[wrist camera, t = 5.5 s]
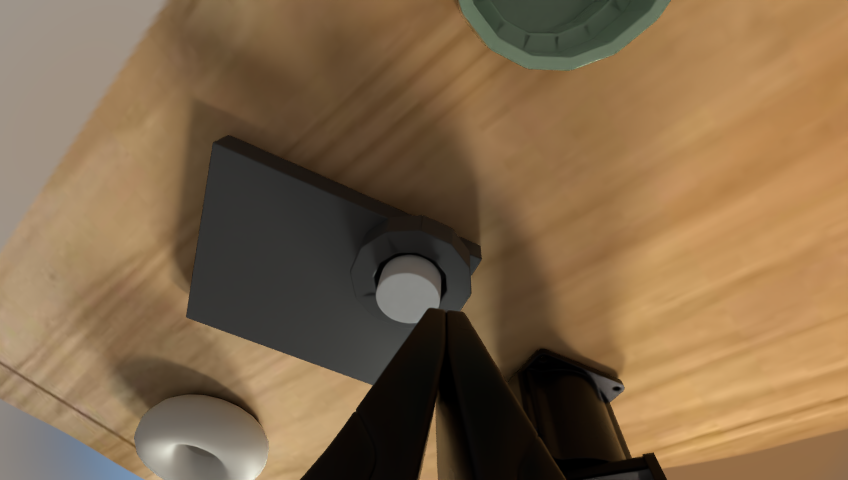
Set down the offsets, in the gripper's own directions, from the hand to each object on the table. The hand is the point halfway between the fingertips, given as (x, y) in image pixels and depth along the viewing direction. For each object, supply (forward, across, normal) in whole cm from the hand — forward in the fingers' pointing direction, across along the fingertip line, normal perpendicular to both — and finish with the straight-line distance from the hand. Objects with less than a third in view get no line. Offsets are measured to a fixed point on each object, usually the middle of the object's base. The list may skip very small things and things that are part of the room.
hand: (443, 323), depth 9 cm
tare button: (+8, +1, +5) cm, 10 cm away
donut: (+11, +16, +24) cm, 31 cm away
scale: (+11, +6, +8) cm, 15 cm away
